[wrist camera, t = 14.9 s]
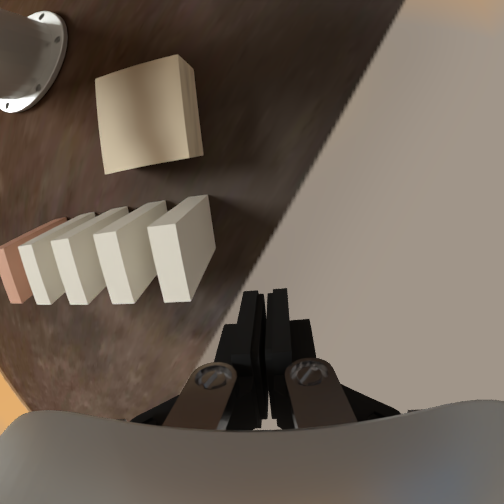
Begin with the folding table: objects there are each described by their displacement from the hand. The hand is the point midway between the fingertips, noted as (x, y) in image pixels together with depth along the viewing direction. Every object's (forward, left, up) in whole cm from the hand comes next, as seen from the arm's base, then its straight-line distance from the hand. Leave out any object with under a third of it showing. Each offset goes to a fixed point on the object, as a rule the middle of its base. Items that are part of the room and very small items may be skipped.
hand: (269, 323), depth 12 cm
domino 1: (-22, 0, -16) cm, 27 cm away
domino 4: (-10, 0, -16) cm, 19 cm away
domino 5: (-6, 0, -16) cm, 17 cm away
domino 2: (-18, 0, -16) cm, 24 cm away
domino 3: (-14, 0, -16) cm, 21 cm away
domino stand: (-8, +10, -16) cm, 21 cm away
